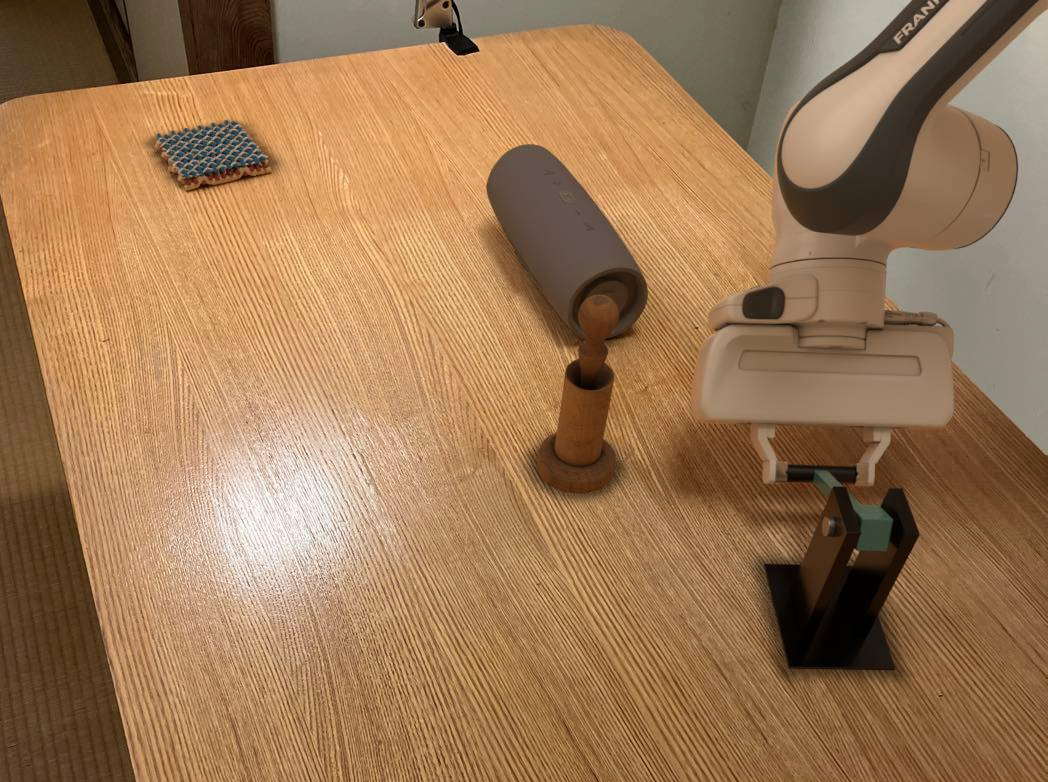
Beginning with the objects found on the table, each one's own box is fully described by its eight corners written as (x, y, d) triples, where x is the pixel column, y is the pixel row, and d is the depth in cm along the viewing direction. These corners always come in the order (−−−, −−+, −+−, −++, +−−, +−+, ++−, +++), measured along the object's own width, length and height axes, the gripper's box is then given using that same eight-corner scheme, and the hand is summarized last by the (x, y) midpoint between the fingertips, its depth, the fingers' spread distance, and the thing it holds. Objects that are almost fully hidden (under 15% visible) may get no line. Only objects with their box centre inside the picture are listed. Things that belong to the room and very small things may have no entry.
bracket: (760, 573, 86) (803, 457, 76) (858, 575, 86) (912, 460, 77) (784, 676, 79) (834, 564, 70) (890, 678, 80) (954, 566, 70)
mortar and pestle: (572, 513, 89) (599, 338, 76) (520, 470, 92) (537, 294, 79) (628, 479, 92) (663, 305, 79) (576, 438, 95) (601, 263, 82)
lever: (779, 484, 86) (783, 455, 85) (846, 486, 86) (851, 457, 85) (832, 550, 74) (838, 518, 73) (910, 552, 74) (917, 520, 73)
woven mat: (184, 195, 117) (181, 178, 116) (153, 150, 123) (150, 133, 122) (274, 175, 121) (273, 158, 120) (240, 132, 127) (238, 115, 126)
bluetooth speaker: (645, 343, 105) (662, 254, 98) (557, 359, 102) (567, 269, 95) (559, 219, 119) (568, 133, 111) (479, 230, 116) (483, 144, 109)
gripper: (936, 318, 88) (928, 488, 89) (689, 309, 87) (682, 481, 87) (974, 306, 82) (965, 488, 82) (708, 296, 80) (701, 481, 81)
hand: (817, 485), depth 85 cm, fingers closed on lever, 6 cm apart
